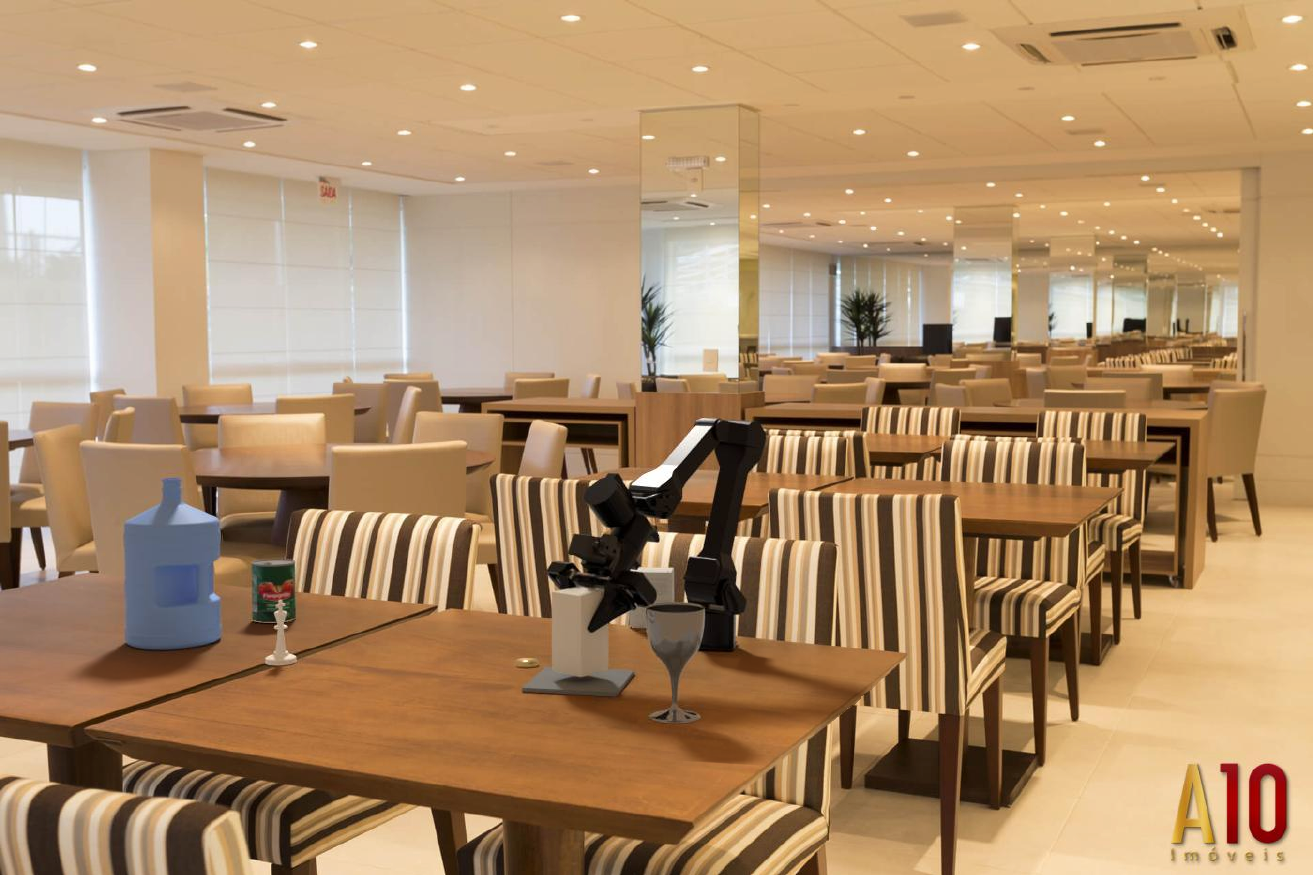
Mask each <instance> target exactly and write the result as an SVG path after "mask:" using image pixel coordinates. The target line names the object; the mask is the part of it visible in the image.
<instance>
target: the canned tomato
mask: <svg viewBox="0 0 1313 875" xmlns="http://www.w3.org/2000/svg"><path fill="white" fill-rule="evenodd" d="M250 564H251V613H252V619H253V620H256V621H261V622H277V621H276V618H275V615H274V612H276V611H278V610H279V608H276V605H277V604H278V600H282V603H285V606H283V611H286V612H287V615H286V618H285V621H287V620H291V619H295V618H296V619H297V616H296V614H297V613H296V610H297V609H296V605H297V604H296V602H297V601H296V594H297V593H296V560H294V559H290V558H265V559H257V560H256V559H255V560H253V561H251V563H250ZM252 619H251V620H252Z"/></svg>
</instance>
